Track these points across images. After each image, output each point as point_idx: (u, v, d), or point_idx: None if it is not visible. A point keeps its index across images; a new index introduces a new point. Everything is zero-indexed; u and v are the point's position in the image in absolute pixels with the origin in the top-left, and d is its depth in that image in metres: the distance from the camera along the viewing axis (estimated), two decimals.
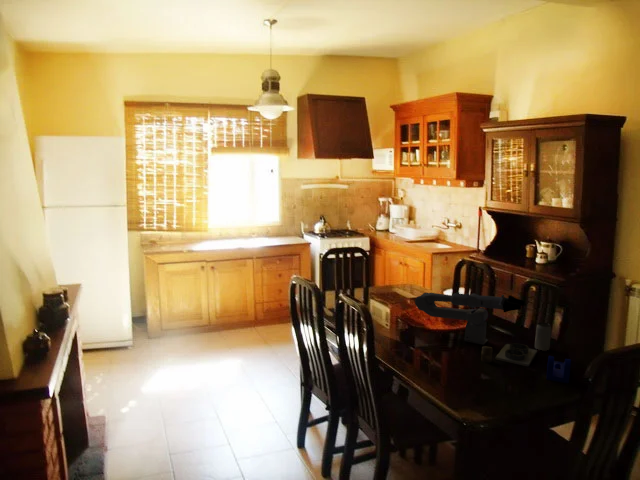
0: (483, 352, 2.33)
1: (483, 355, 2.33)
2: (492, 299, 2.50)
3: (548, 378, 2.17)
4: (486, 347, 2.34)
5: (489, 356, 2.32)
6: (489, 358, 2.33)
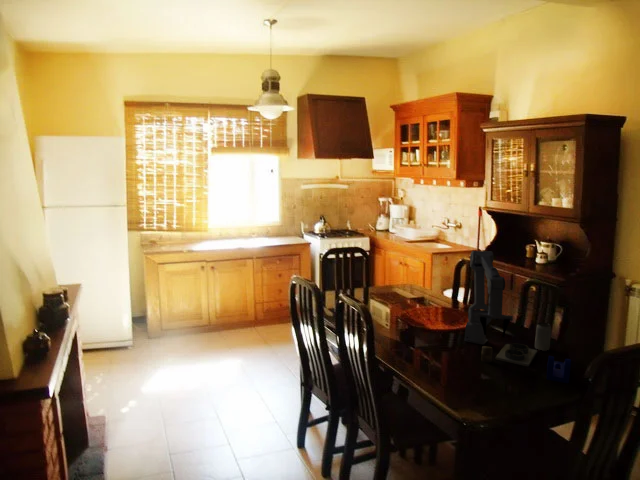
0: (483, 352, 2.33)
1: (483, 355, 2.33)
2: (490, 306, 2.32)
3: (548, 378, 2.17)
4: (486, 347, 2.34)
5: (489, 356, 2.32)
6: (489, 358, 2.33)
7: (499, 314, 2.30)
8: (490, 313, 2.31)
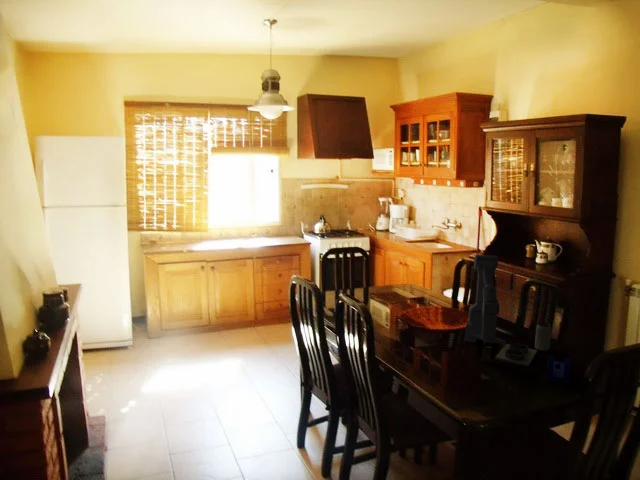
0: (483, 352, 2.33)
1: (483, 355, 2.33)
2: (482, 329, 2.32)
3: (548, 378, 2.17)
4: (486, 347, 2.34)
5: (489, 356, 2.32)
6: (489, 358, 2.33)
7: (491, 338, 2.30)
8: (482, 337, 2.32)
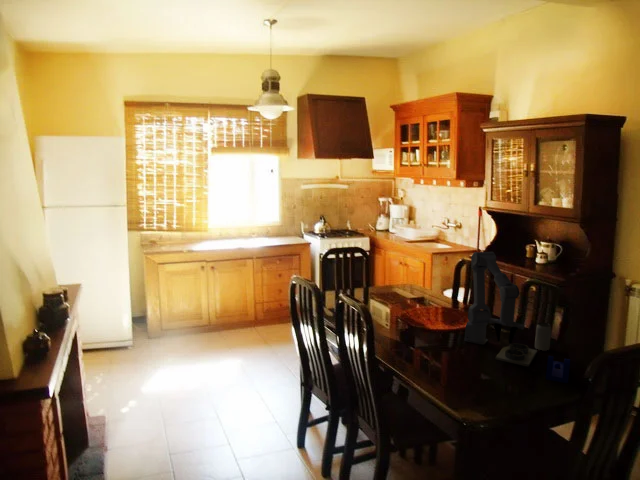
0: (501, 336, 2.34)
1: (501, 339, 2.34)
2: (501, 313, 2.32)
3: (547, 378, 2.17)
4: (504, 331, 2.35)
5: (507, 340, 2.33)
6: (507, 342, 2.33)
7: (510, 322, 2.31)
8: (501, 320, 2.32)
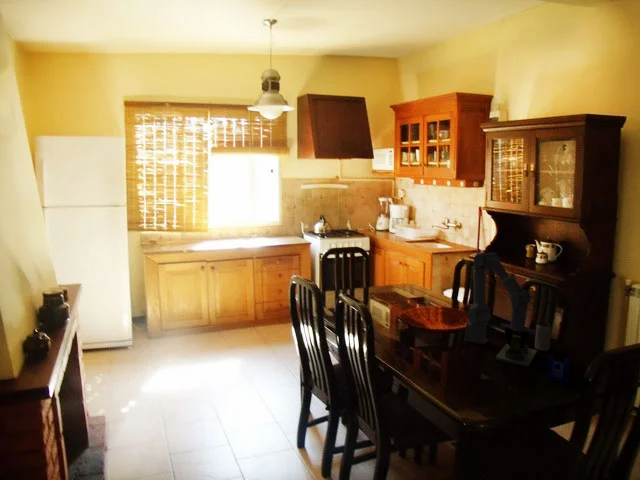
0: (512, 341, 2.35)
1: (512, 344, 2.35)
2: (512, 318, 2.34)
3: (547, 378, 2.17)
4: (515, 336, 2.36)
5: (518, 345, 2.34)
6: (518, 347, 2.34)
7: (521, 327, 2.32)
8: (512, 326, 2.34)
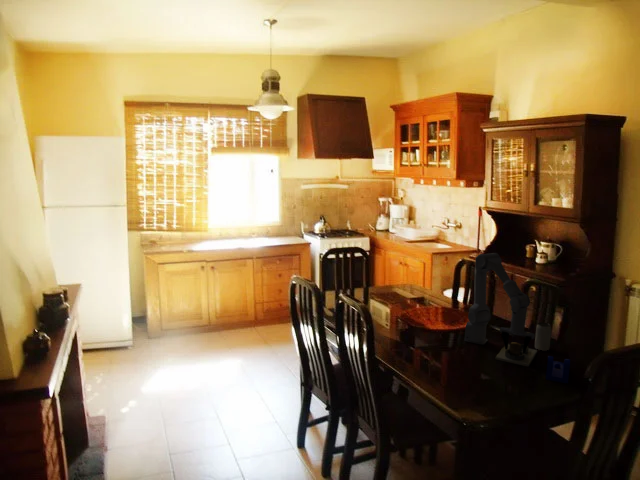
0: (511, 348, 2.36)
1: (511, 351, 2.36)
2: (512, 322, 2.34)
3: (547, 378, 2.17)
4: (514, 343, 2.37)
5: (517, 352, 2.35)
6: (517, 354, 2.35)
7: (520, 331, 2.33)
8: (512, 330, 2.34)
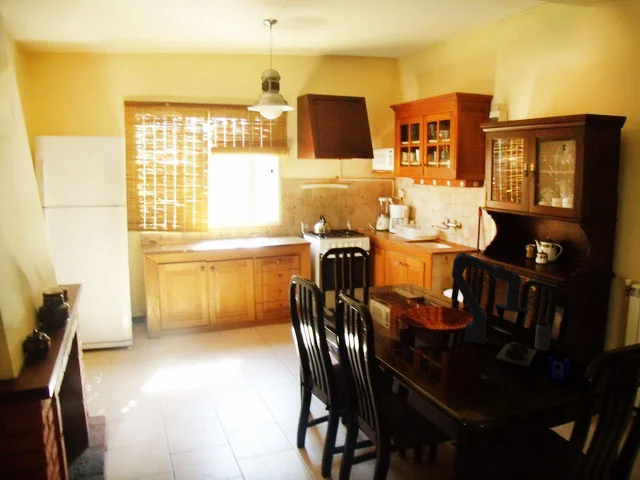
0: (511, 348, 2.36)
1: (511, 351, 2.36)
2: (506, 299, 2.51)
3: (547, 378, 2.17)
4: (514, 343, 2.37)
5: (517, 352, 2.35)
6: (517, 354, 2.35)
7: (514, 307, 2.49)
8: (506, 306, 2.51)
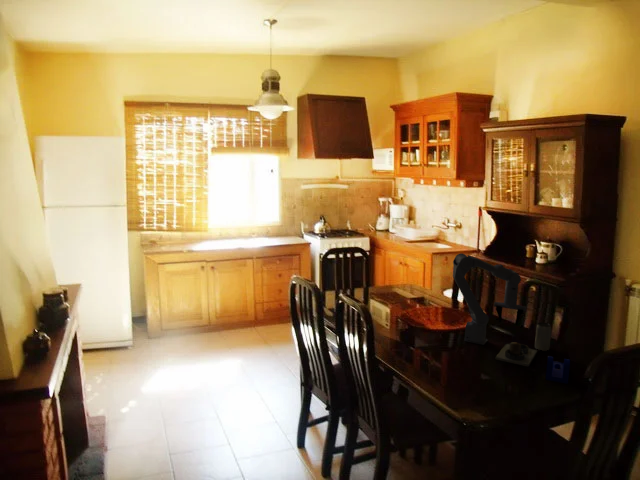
0: (511, 348, 2.36)
1: (511, 351, 2.36)
2: (505, 297, 2.54)
3: (547, 378, 2.17)
4: (514, 343, 2.37)
5: (517, 352, 2.35)
6: (517, 354, 2.35)
7: (513, 305, 2.53)
8: (505, 303, 2.55)
